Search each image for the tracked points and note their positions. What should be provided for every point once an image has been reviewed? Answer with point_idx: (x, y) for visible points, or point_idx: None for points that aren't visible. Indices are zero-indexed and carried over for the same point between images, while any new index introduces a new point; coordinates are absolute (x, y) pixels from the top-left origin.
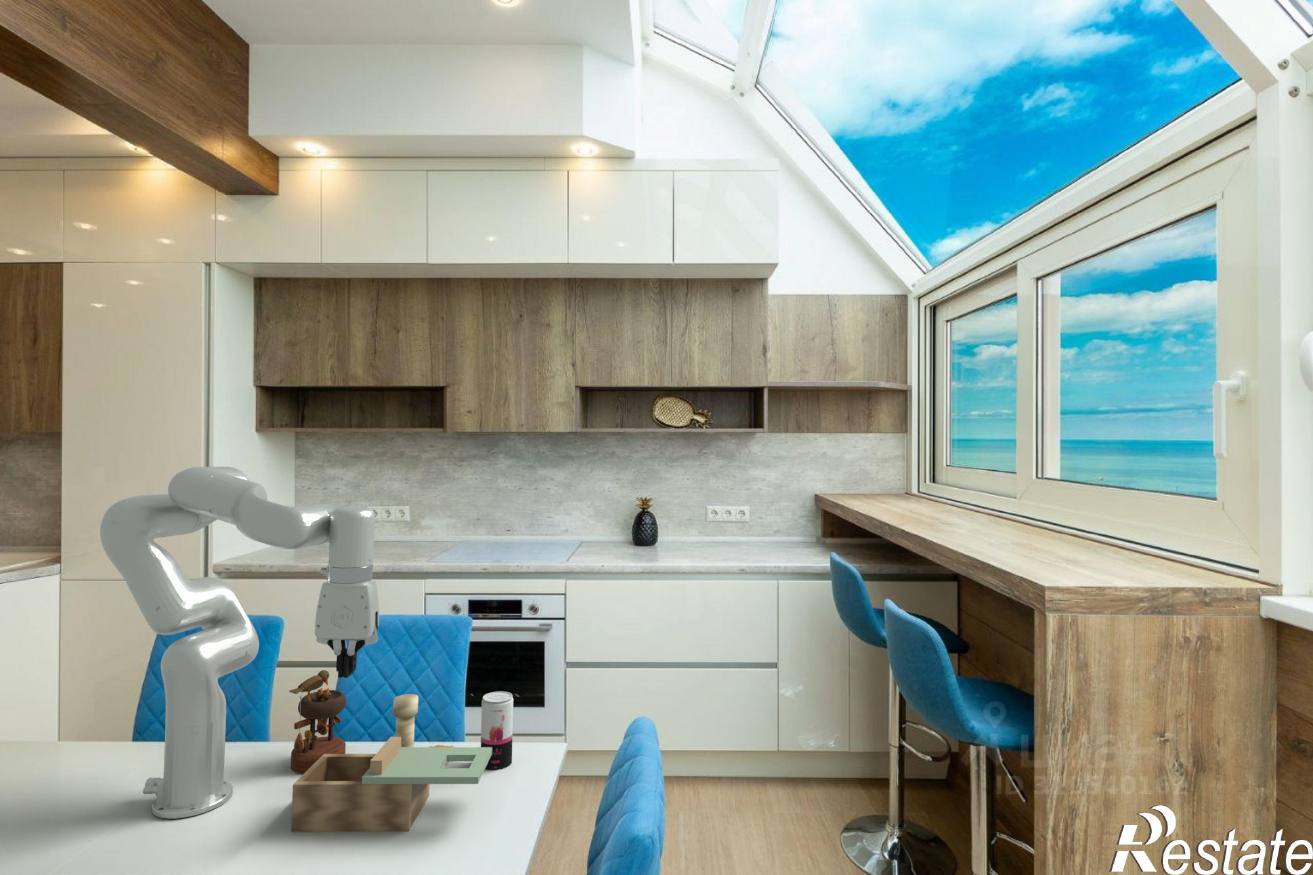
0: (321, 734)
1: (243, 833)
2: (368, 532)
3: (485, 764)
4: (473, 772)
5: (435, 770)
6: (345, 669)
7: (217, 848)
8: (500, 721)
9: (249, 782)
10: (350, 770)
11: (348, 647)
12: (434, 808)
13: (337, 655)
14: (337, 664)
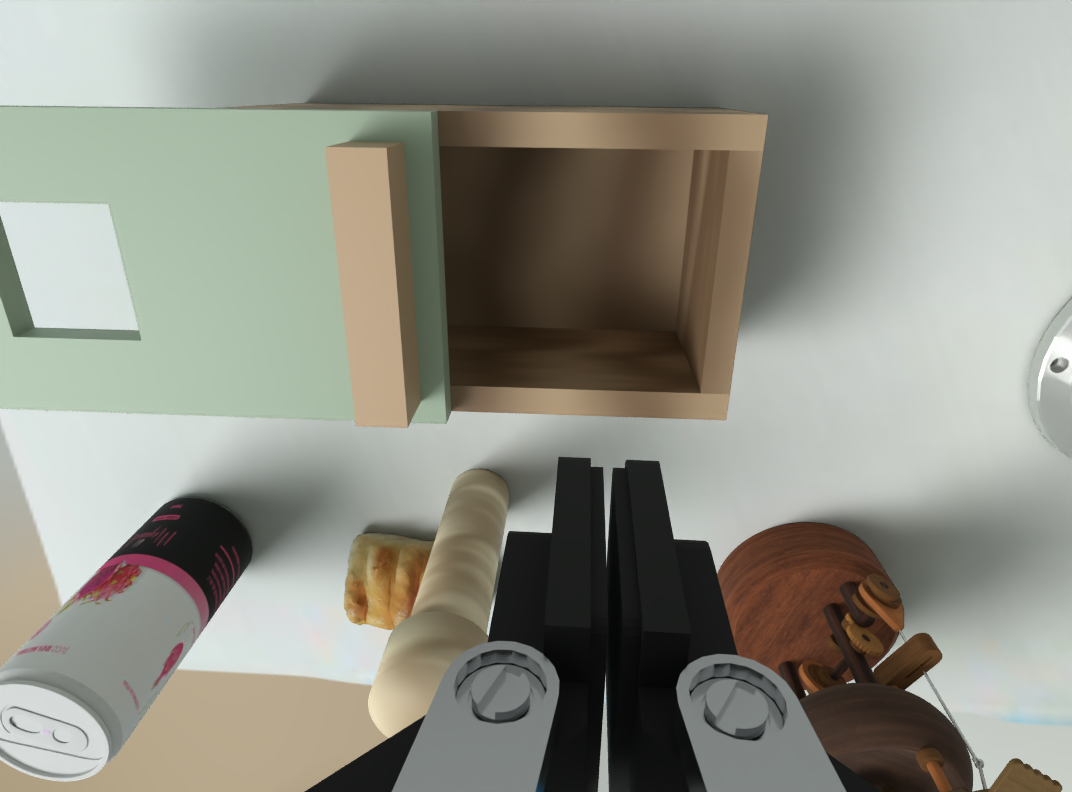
0: (819, 664)
1: (903, 140)
2: None
3: None
4: None
5: (112, 179)
6: (573, 501)
7: (966, 34)
8: (58, 617)
9: (990, 479)
10: (595, 366)
11: (535, 765)
12: None
13: (722, 654)
14: (705, 585)
